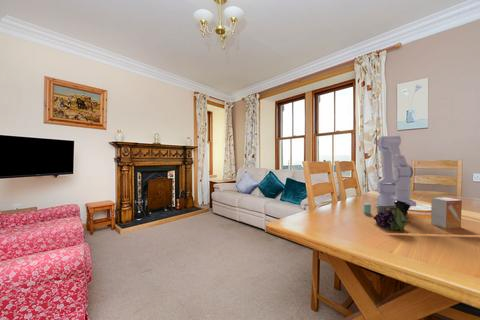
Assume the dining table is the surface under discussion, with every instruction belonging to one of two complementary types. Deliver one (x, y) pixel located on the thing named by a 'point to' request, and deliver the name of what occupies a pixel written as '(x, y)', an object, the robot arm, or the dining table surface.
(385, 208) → the block
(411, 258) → the dining table surface
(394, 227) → the fruit
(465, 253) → the dining table surface
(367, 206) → the dowel
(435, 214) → the small box
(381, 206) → the board
